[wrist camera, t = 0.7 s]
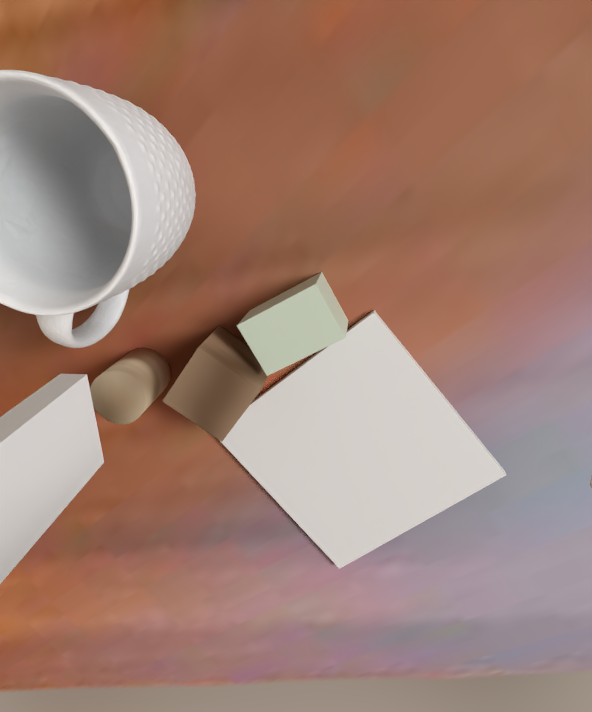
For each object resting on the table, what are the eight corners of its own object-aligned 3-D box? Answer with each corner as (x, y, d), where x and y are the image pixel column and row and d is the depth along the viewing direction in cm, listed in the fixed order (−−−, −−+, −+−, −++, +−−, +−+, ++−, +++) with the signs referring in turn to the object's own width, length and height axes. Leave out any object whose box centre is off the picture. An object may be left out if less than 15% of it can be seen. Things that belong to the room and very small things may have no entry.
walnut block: (186, 373, 41) (162, 401, 36) (219, 325, 39) (198, 347, 34) (239, 410, 41) (221, 441, 37) (274, 363, 39) (260, 390, 35)
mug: (198, 333, 39) (118, 410, 27) (60, 296, 40) (-78, 355, 28) (233, 122, 34) (153, 100, 22) (73, 82, 34) (-92, 40, 22)
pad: (214, 429, 42) (212, 433, 41) (374, 309, 37) (374, 312, 36) (339, 563, 45) (339, 568, 44) (504, 470, 40) (506, 474, 39)
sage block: (250, 309, 38) (236, 325, 34) (321, 271, 36) (315, 283, 33) (277, 355, 39) (266, 376, 35) (348, 320, 37) (345, 337, 34)
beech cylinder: (112, 367, 41) (78, 393, 37) (145, 337, 40) (115, 361, 35) (147, 403, 42) (118, 434, 37) (180, 376, 41) (155, 403, 36)
